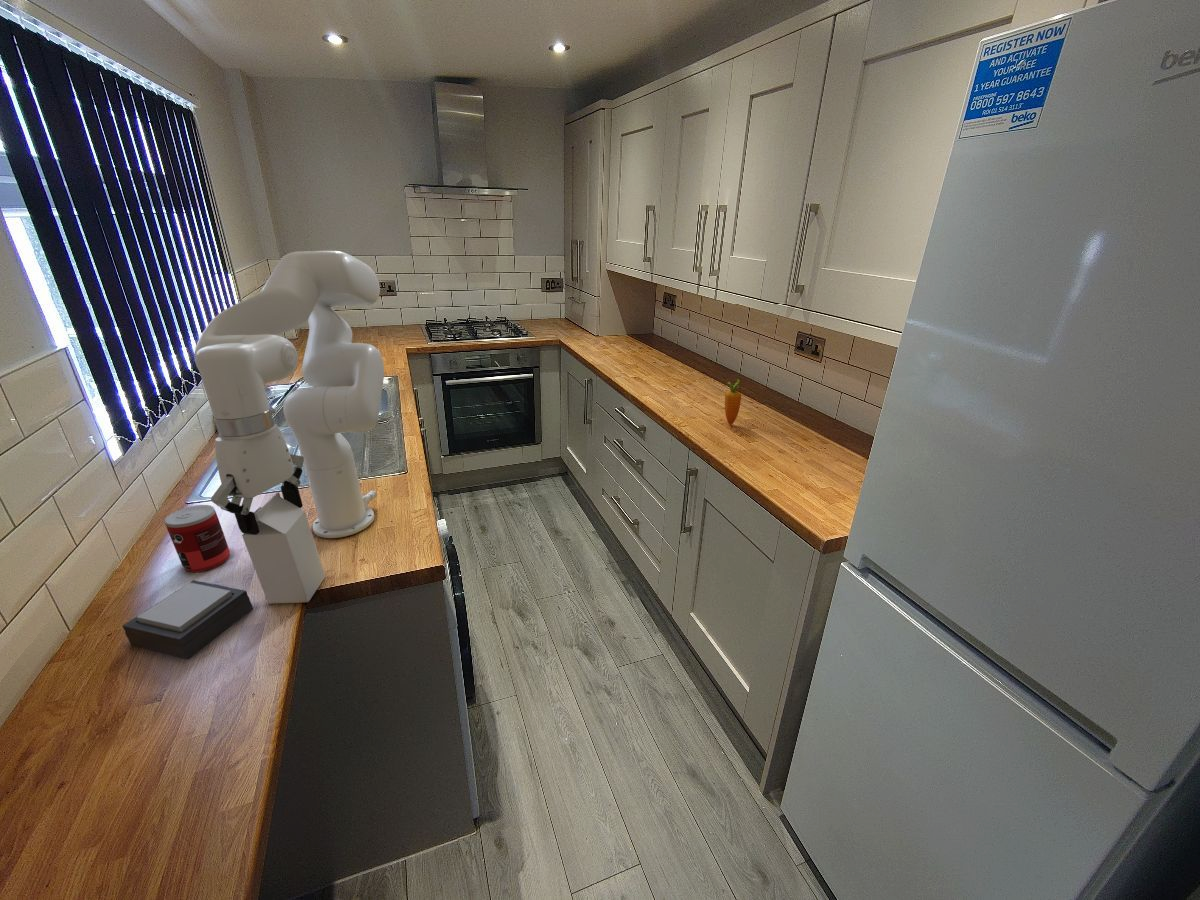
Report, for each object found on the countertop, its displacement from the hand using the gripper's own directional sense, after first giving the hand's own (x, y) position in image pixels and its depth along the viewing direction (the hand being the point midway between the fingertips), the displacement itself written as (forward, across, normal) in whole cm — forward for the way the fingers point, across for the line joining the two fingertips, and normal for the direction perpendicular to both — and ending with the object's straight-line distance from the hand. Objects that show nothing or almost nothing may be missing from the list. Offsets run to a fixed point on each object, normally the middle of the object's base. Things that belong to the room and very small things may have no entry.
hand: (273, 519), depth 89 cm
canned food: (+16, -4, -26) cm, 30 cm away
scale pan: (+13, +11, -10) cm, 20 cm away
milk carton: (+16, -1, 0) cm, 16 cm away
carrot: (+14, -105, +73) cm, 128 cm away
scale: (+16, +11, -10) cm, 22 cm away
